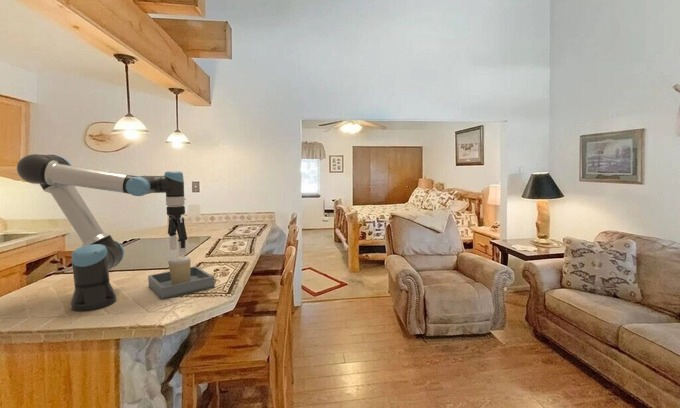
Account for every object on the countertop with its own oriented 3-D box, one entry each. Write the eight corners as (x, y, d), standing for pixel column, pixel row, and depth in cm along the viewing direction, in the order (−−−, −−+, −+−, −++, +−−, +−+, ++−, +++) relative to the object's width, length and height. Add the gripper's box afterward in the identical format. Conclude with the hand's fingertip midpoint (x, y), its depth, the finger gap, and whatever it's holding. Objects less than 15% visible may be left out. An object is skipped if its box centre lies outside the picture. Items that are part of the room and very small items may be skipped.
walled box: (162, 299, 150) (161, 288, 149) (148, 286, 167) (147, 275, 167) (214, 287, 164) (213, 276, 163) (196, 275, 182) (196, 266, 181)
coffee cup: (195, 281, 170) (194, 256, 168) (185, 288, 161) (183, 261, 159) (177, 281, 171) (175, 256, 169) (165, 287, 162) (163, 261, 160)
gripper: (193, 207, 154) (195, 256, 157) (176, 203, 173) (178, 246, 176) (175, 209, 150) (177, 259, 152) (159, 204, 168) (161, 248, 171)
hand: (177, 252), depth 164 cm, fingers open, 13 cm apart
